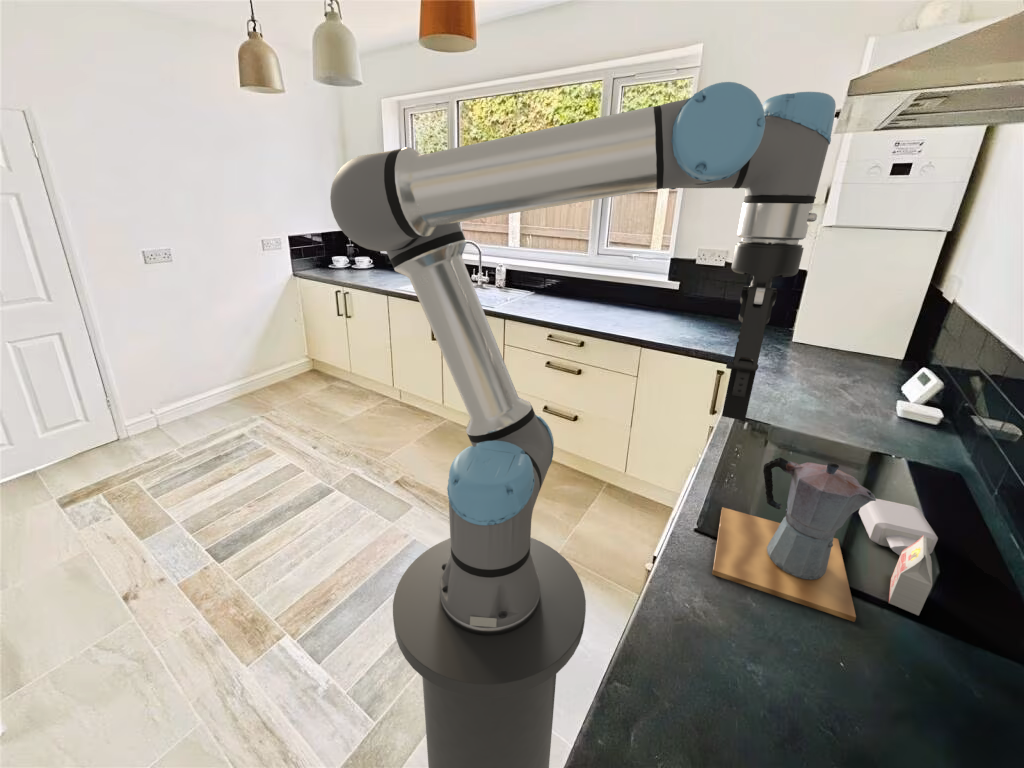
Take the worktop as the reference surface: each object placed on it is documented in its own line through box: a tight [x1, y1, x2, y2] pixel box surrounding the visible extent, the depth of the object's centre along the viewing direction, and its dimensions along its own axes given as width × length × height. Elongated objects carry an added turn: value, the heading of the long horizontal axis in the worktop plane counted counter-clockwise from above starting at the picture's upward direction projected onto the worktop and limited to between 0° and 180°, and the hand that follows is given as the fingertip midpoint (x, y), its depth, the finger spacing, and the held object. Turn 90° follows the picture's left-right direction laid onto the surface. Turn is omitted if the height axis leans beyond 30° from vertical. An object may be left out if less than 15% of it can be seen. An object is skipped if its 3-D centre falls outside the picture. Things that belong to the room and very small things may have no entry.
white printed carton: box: [888, 535, 933, 617], centre depth 72 cm, size 4×7×10 cm, turn 140°
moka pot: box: [763, 456, 877, 580], centre depth 76 cm, size 10×15×20 cm, turn 53°
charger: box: [858, 498, 939, 559], centre depth 84 cm, size 5×9×15 cm
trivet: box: [711, 506, 857, 623], centre depth 81 cm, size 20×20×1 cm
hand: (736, 400), depth 64 cm, fingers open, 13 cm apart
